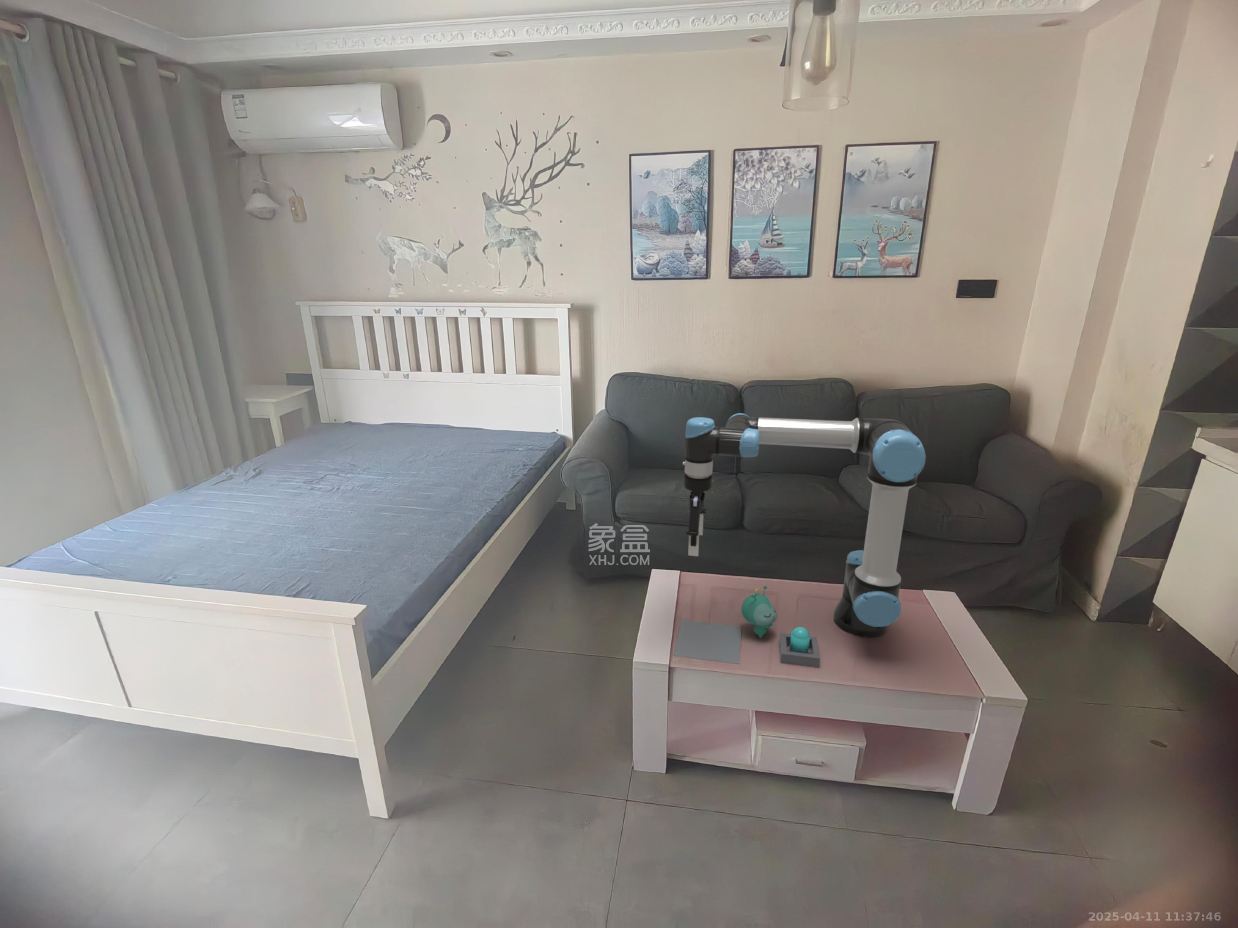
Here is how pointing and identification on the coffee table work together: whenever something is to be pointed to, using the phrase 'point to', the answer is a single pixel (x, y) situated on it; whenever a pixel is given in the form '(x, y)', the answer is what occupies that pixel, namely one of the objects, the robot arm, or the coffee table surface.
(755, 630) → the toy
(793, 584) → the coffee table surface
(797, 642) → the dome
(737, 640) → the mat
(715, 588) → the coffee table surface
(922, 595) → the coffee table surface
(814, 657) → the dome housing
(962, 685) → the coffee table surface
